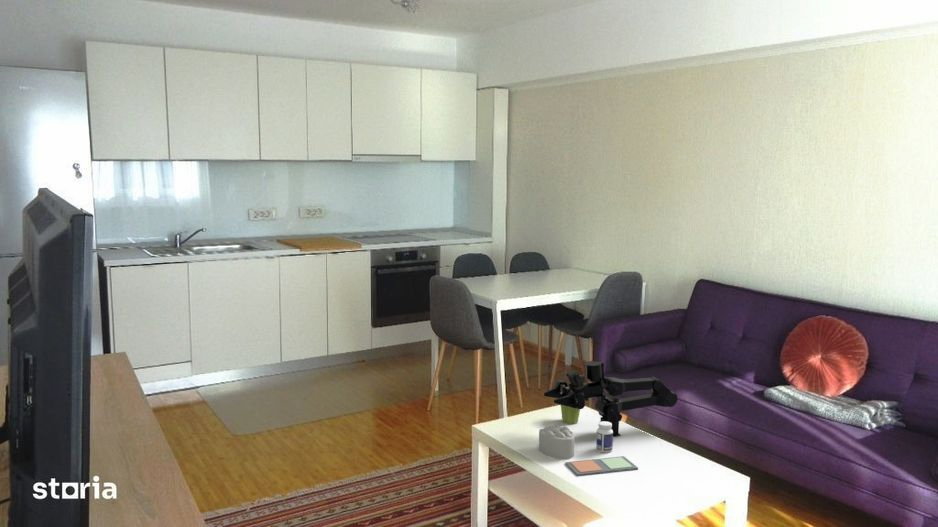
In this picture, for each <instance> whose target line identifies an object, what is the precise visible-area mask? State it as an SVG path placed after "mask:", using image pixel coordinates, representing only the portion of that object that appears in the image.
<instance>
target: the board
mask: <svg viewBox="0 0 938 527" xmlns="http://www.w3.org/2000/svg"><path fill="white" fill-rule="evenodd" d="M564 464H565V465H566V467H567V468H569V469H570V470H571V471H572V473H574V474H575V475H576V476H577V477H581V476H591V475H598V474H606V473H607V474H609V473H617V472H619V473H620V472H626V471H635V470H639V467H637V465H636V464H635V463H633V462H632V461H631V460H629V459H628V458H627V457H626V456H624V455H622V456H613V457H604V458H594V459H584V460H583V459H582V460H575V461H565V462H564Z"/></svg>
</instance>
